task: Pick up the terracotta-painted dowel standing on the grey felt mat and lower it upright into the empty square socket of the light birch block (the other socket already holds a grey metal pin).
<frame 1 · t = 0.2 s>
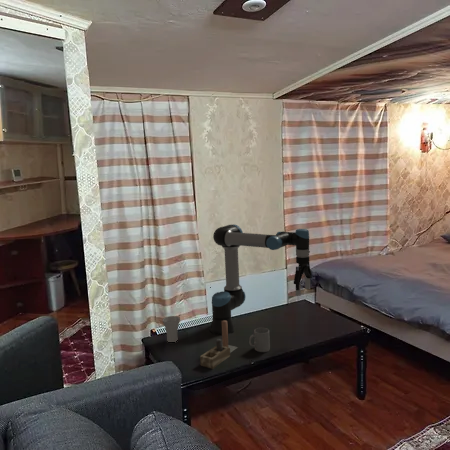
hand: (303, 292, 239), 28 cm above the table, fingers open, 13 cm apart
socket block: (215, 360, 219), on the table
mat: (225, 349, 232), on the table
mug: (259, 350, 230), on the table
cup: (172, 341, 246), on the table
dowel: (225, 348, 232), resting on mat
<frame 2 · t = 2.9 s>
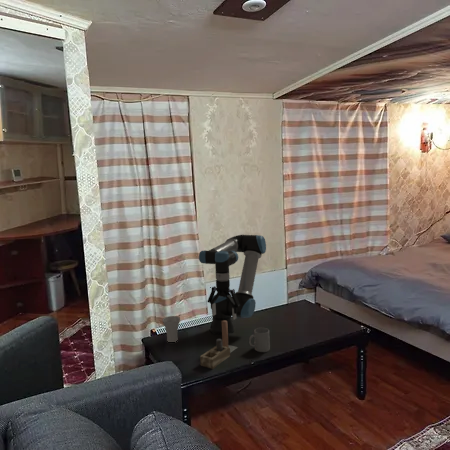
hand: (224, 317, 229), 19 cm above the table, fingers open, 13 cm apart
nothing on the table moved.
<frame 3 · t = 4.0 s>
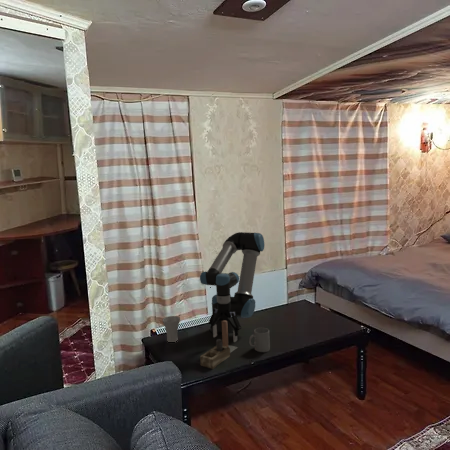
hand: (225, 338, 231), 6 cm above the table, fingers open, 13 cm apart
nothing on the table moved.
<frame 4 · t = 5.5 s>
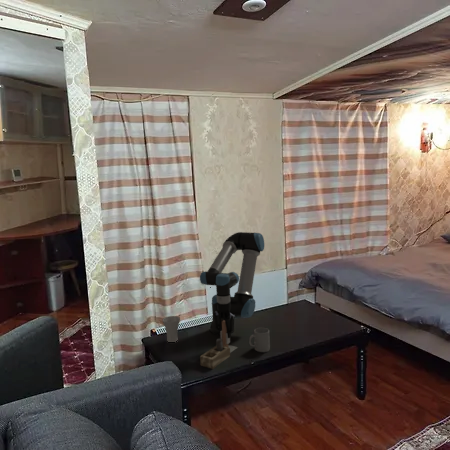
hand: (225, 342, 231), 4 cm above the table, fingers closed on dowel, 3 cm apart
dowel: (225, 348, 232), resting on mat, touching gripper
everything else where it was.
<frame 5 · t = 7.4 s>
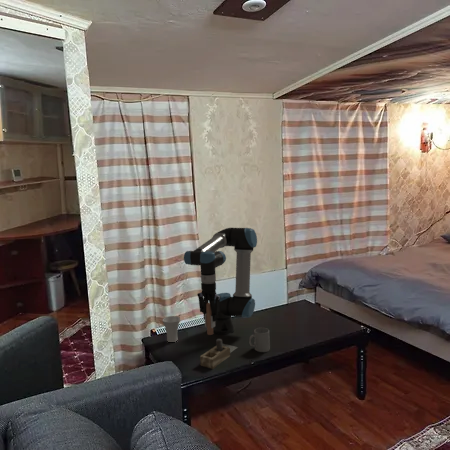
hand: (210, 326, 213), 20 cm above the table, fingers closed on dowel, 3 cm apart
dowel: (210, 333, 214), point 16 cm above the table, touching gripper
everything else where it was.
when the fingers open (7 cm above the table, at t = 9.9 s): dowel drops 2 cm, resting in socket block.
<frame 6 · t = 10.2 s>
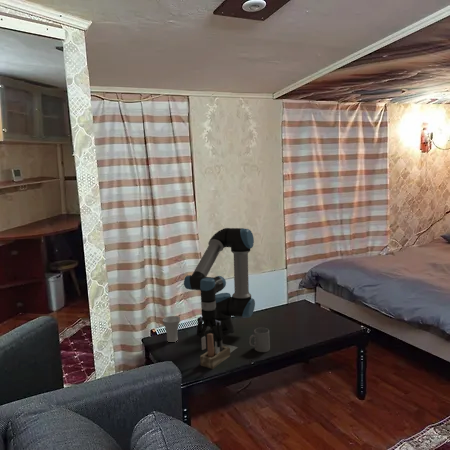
hand: (210, 350, 214), 7 cm above the table, fingers open, 8 cm apart
dowel: (211, 364, 215), resting in socket block
everything else where it was.
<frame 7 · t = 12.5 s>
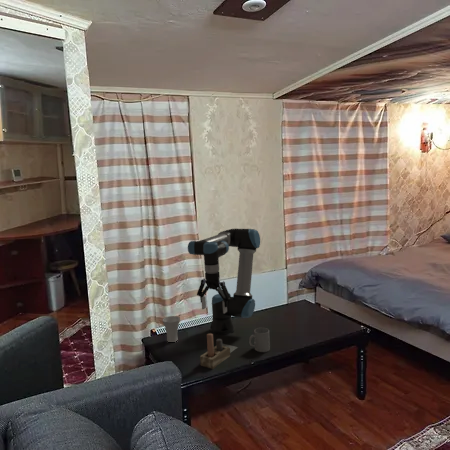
hand: (214, 310, 219), 26 cm above the table, fingers open, 13 cm apart
nothing on the table moved.
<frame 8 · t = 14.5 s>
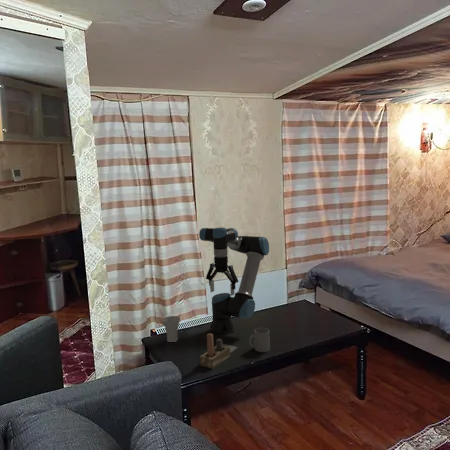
hand: (222, 293, 230), 32 cm above the table, fingers open, 13 cm apart
nothing on the table moved.
at the end: dowel 0.1 cm from the target spot on the socket block, point 0.0 cm above the socket block's base; dowel tilted 0°; the gripper is holding nothing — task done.
